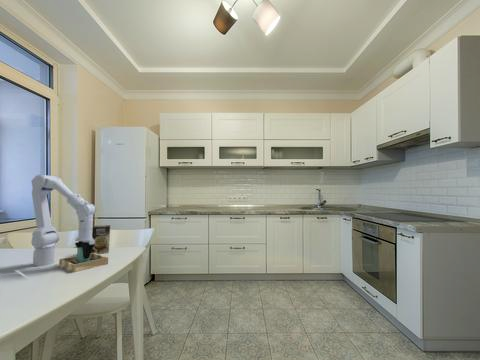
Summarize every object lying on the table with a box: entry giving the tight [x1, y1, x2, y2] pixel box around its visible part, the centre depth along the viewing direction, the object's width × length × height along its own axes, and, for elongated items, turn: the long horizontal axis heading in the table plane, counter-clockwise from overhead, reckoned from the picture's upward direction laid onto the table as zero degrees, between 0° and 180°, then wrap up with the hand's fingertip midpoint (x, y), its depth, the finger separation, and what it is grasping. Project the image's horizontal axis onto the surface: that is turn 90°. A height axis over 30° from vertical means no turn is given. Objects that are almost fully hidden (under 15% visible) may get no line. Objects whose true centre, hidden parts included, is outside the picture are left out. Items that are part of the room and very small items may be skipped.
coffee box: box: [91, 224, 111, 255], centre depth 137 cm, size 9×6×16 cm
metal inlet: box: [70, 257, 97, 264], centre depth 113 cm, size 8×8×2 cm
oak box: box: [58, 253, 109, 274], centre depth 113 cm, size 15×15×4 cm
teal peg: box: [76, 247, 90, 262], centre depth 113 cm, size 4×4×7 cm
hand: (84, 257), depth 114 cm, fingers closed on teal peg, 4 cm apart
